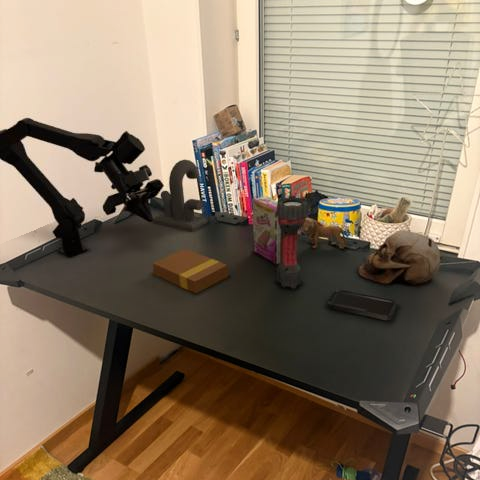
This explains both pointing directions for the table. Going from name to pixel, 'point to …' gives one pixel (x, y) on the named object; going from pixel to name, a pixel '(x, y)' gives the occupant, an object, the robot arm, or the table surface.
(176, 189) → the dark grey curved stand
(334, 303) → the phone
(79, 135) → the robot arm
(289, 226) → the flashlight
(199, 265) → the brown banded box
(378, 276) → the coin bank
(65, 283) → the table surface
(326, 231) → the lion figurine
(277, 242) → the candy bar box
